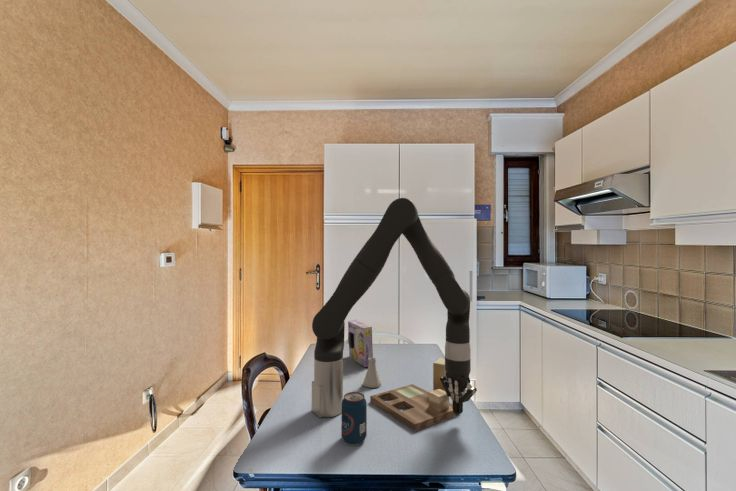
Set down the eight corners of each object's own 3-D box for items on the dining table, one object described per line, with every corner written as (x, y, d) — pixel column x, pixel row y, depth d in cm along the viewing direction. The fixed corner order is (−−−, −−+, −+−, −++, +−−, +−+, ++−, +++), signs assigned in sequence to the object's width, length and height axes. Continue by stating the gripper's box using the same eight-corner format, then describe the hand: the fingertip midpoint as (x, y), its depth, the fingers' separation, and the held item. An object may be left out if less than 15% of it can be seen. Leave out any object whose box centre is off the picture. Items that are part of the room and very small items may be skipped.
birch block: (439, 411, 111) (439, 396, 111) (429, 405, 115) (429, 391, 115) (449, 407, 113) (449, 393, 113) (439, 402, 117) (439, 388, 117)
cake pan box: (347, 356, 172) (347, 319, 172) (356, 354, 174) (356, 318, 174) (363, 368, 155) (363, 327, 155) (373, 366, 157) (373, 326, 157)
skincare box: (438, 390, 132) (438, 357, 132) (450, 393, 130) (450, 359, 130) (432, 396, 126) (432, 362, 126) (444, 399, 124) (444, 364, 124)
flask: (379, 389, 133) (380, 362, 133) (360, 387, 134) (361, 361, 134) (382, 382, 140) (382, 356, 140) (364, 380, 141) (364, 355, 141)
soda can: (336, 439, 98) (336, 396, 98) (354, 430, 103) (354, 389, 103) (353, 449, 93) (353, 404, 93) (371, 439, 98) (371, 396, 98)
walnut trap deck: (415, 431, 103) (415, 424, 103) (370, 401, 122) (370, 396, 122) (460, 414, 113) (460, 407, 113) (412, 389, 133) (412, 384, 133)
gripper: (483, 359, 104) (483, 418, 104) (449, 348, 115) (449, 402, 115) (466, 364, 100) (466, 426, 100) (432, 352, 111) (432, 408, 111)
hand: (457, 413), depth 107 cm, fingers closed
